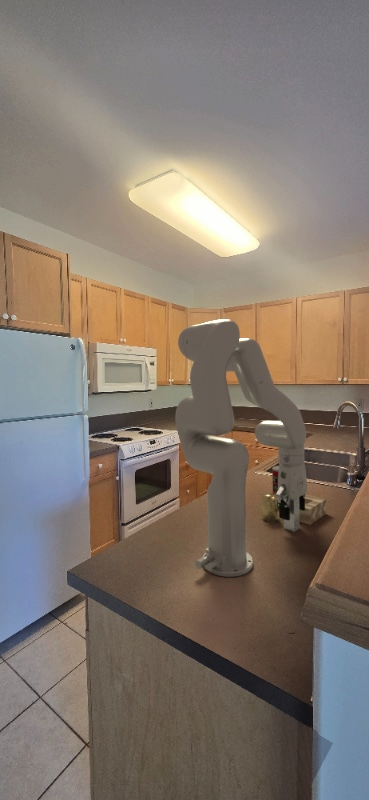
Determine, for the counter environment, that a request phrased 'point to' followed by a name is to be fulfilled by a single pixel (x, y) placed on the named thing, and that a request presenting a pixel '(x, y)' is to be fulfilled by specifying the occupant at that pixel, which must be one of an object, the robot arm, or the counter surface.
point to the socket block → (312, 509)
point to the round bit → (269, 506)
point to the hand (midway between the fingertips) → (292, 513)
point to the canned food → (275, 478)
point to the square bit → (293, 516)
